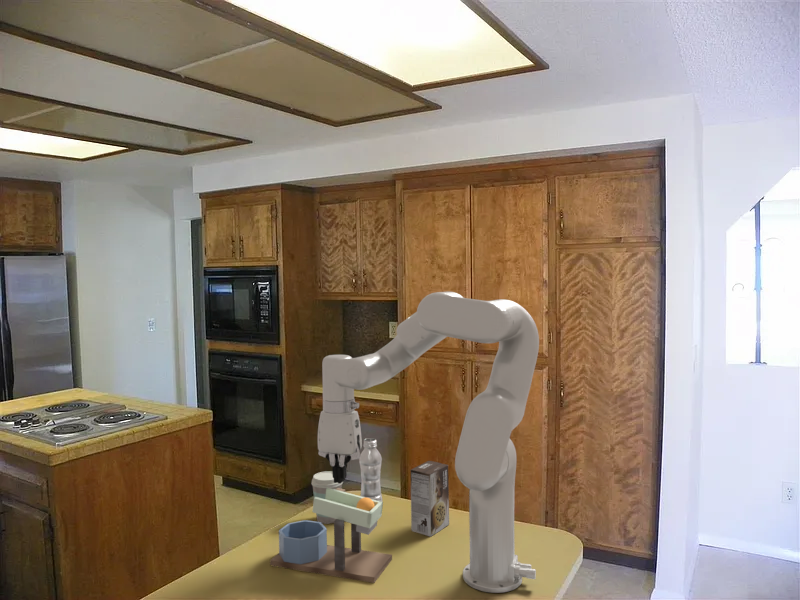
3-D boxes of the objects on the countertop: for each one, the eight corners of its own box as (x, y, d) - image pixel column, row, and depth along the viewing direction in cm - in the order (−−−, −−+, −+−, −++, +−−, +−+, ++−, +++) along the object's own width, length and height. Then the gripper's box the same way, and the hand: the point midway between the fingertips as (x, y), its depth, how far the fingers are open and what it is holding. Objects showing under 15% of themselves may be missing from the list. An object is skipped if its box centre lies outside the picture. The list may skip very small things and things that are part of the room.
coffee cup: (338, 527, 154) (337, 481, 154) (307, 524, 156) (306, 479, 156) (347, 514, 163) (346, 471, 162) (318, 512, 164) (317, 469, 164)
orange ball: (375, 514, 133) (378, 497, 132) (369, 521, 129) (371, 504, 129) (359, 509, 134) (362, 492, 134) (352, 516, 130) (355, 499, 130)
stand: (392, 559, 136) (391, 508, 135) (374, 582, 125) (373, 527, 125) (294, 544, 144) (293, 496, 144) (270, 565, 134) (269, 513, 133)
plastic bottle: (357, 515, 162) (355, 443, 161) (362, 505, 169) (361, 436, 168) (380, 516, 161) (379, 443, 160) (384, 506, 168) (383, 437, 167)
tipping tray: (389, 514, 140) (392, 493, 139) (368, 537, 128) (371, 513, 127) (336, 500, 144) (338, 479, 144) (311, 520, 132) (313, 497, 132)
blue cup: (332, 546, 140) (332, 523, 140) (312, 566, 131) (312, 541, 130) (294, 540, 144) (294, 518, 143) (272, 559, 134) (271, 535, 134)
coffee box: (429, 519, 158) (428, 459, 158) (450, 524, 155) (449, 464, 154) (410, 531, 151) (409, 469, 151) (431, 537, 147) (430, 473, 147)
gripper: (373, 404, 143) (373, 479, 144) (317, 401, 148) (319, 473, 149) (361, 411, 136) (362, 489, 137) (303, 407, 141) (304, 483, 142)
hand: (339, 481), depth 143 cm, fingers closed
